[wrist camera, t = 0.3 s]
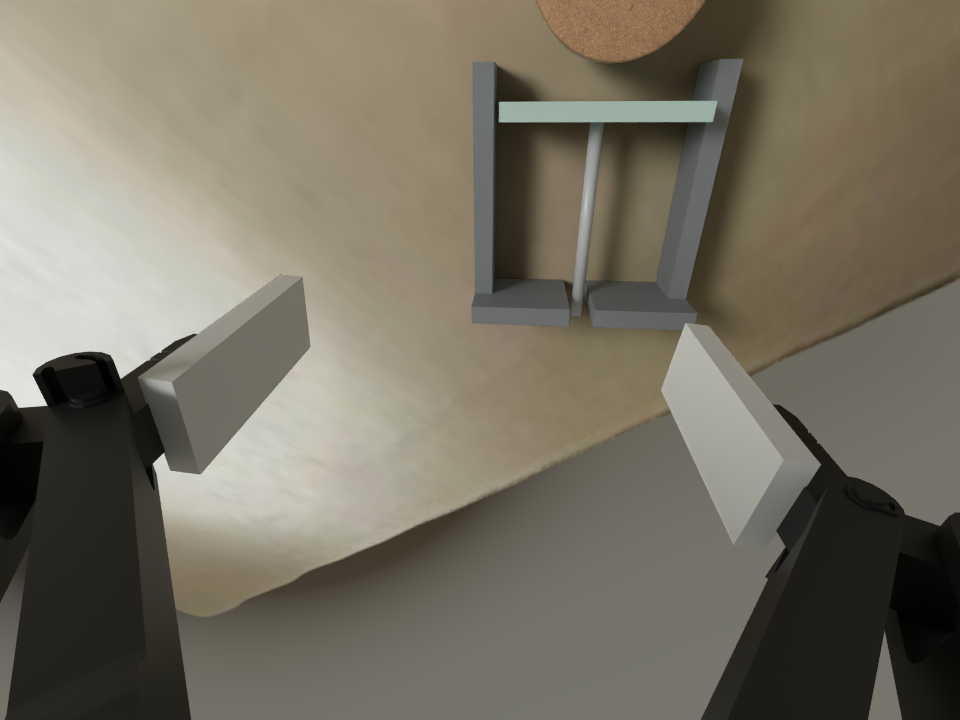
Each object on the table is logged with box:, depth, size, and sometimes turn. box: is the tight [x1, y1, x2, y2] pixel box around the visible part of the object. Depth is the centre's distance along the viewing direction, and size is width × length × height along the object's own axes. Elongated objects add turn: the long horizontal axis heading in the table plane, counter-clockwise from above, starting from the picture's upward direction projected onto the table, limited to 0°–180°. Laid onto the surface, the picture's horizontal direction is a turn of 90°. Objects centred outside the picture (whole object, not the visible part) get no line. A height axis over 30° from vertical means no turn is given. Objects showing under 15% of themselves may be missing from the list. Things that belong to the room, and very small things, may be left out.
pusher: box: [499, 101, 717, 317], centre depth 36 cm, size 17×14×6 cm
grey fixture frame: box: [472, 59, 744, 330], centre depth 35 cm, size 18×18×7 cm
